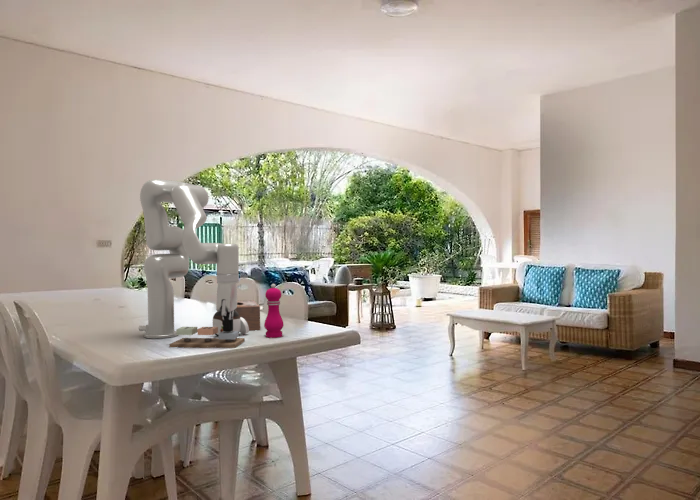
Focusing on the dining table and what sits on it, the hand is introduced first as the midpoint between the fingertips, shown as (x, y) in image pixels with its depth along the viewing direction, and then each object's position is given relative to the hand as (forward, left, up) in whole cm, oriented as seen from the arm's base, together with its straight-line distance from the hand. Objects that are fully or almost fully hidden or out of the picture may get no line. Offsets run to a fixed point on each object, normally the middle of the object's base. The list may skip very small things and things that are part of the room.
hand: (228, 330), depth 193 cm
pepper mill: (+13, +16, -5) cm, 21 cm away
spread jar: (-4, +18, -5) cm, 19 cm away
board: (-7, 0, -5) cm, 9 cm away
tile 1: (-15, 0, -1) cm, 15 cm away
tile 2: (-7, 0, -1) cm, 7 cm away
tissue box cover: (-7, +40, -5) cm, 41 cm away
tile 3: (0, 0, -3) cm, 3 cm away
